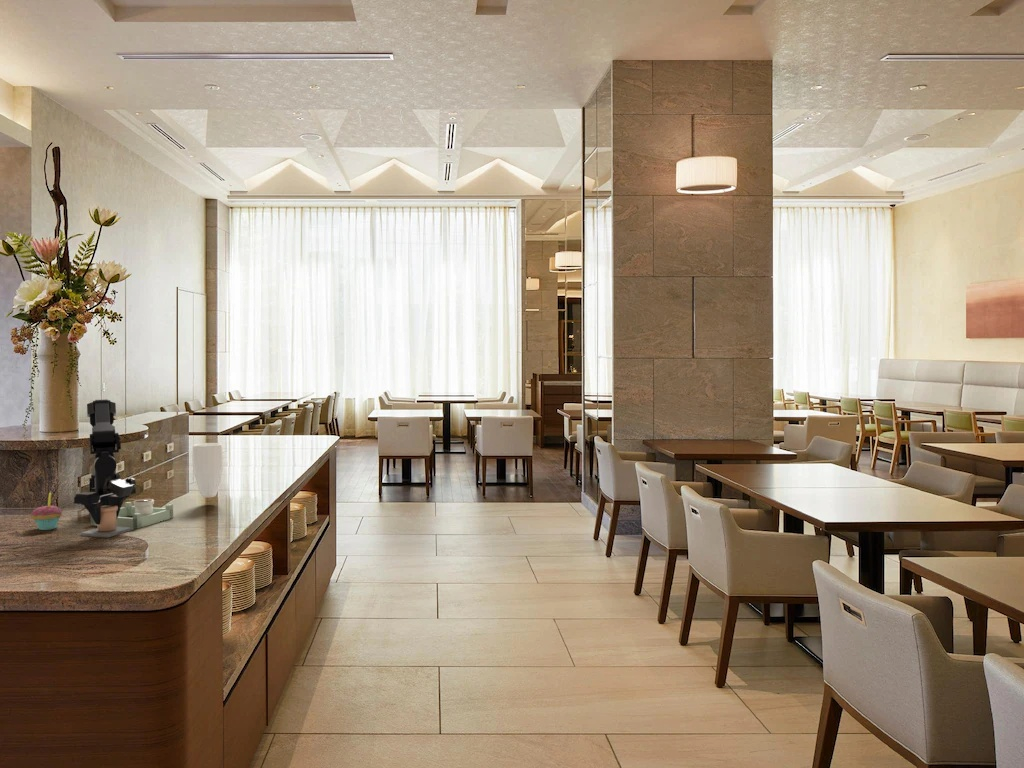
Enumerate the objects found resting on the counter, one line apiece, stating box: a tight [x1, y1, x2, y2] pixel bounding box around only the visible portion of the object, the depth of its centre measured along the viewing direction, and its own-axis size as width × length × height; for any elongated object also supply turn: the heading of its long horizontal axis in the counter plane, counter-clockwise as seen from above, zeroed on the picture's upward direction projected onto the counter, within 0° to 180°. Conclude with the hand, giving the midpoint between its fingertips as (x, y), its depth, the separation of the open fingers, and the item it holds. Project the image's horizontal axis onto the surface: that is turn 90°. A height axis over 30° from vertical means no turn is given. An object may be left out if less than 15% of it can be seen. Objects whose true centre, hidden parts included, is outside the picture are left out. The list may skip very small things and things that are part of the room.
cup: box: [192, 442, 224, 498], centre depth 283 cm, size 10×10×22 cm
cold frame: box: [89, 501, 174, 529], centre depth 256 cm, size 18×16×4 cm
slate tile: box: [80, 526, 134, 538], centre depth 241 cm, size 10×10×1 cm
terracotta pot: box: [97, 505, 118, 531], centre depth 241 cm, size 6×6×7 cm
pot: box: [132, 498, 155, 517], centre depth 255 cm, size 6×6×7 cm
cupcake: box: [29, 490, 63, 531], centre depth 247 cm, size 9×8×12 cm
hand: (106, 521), depth 241 cm, fingers open, 6 cm apart
